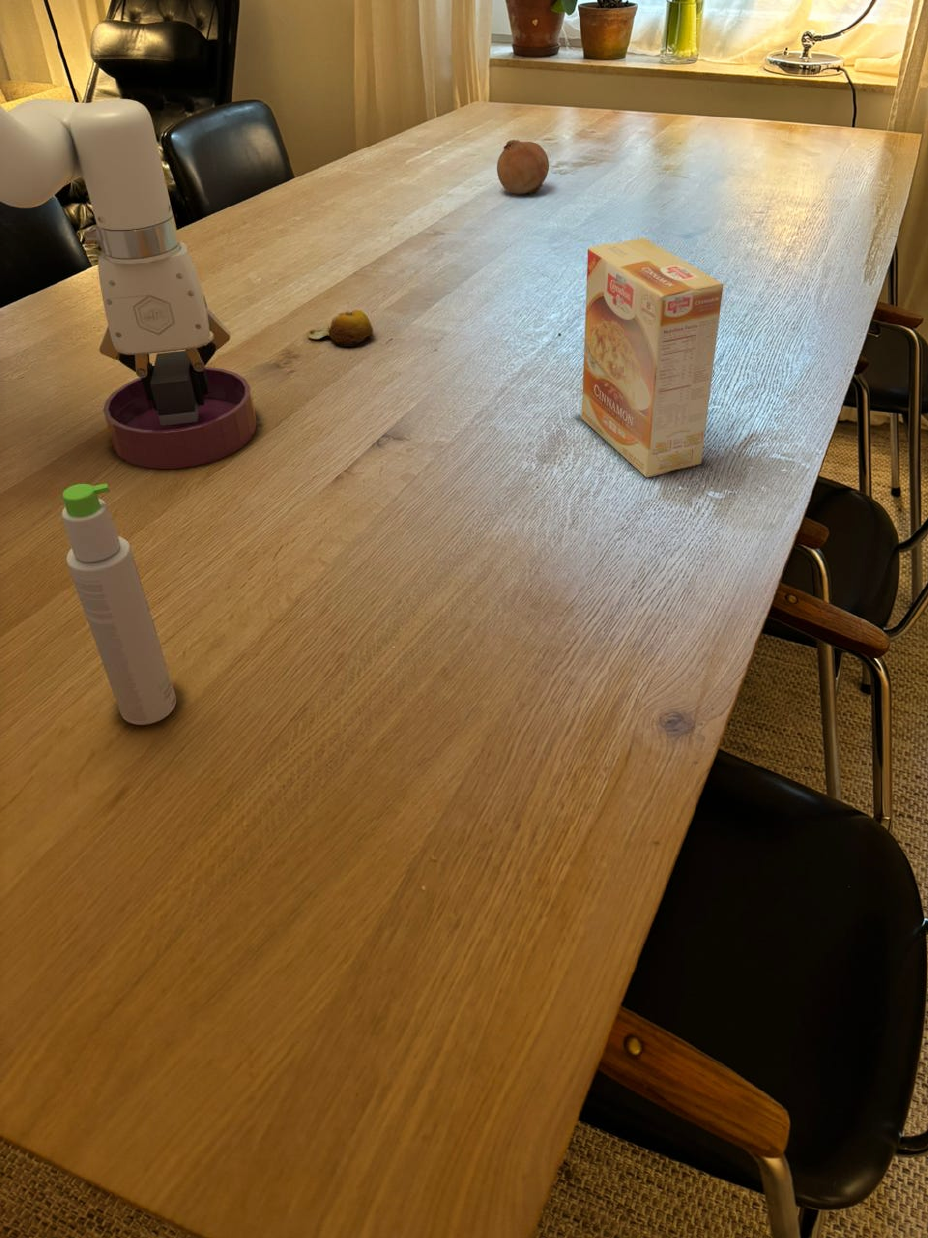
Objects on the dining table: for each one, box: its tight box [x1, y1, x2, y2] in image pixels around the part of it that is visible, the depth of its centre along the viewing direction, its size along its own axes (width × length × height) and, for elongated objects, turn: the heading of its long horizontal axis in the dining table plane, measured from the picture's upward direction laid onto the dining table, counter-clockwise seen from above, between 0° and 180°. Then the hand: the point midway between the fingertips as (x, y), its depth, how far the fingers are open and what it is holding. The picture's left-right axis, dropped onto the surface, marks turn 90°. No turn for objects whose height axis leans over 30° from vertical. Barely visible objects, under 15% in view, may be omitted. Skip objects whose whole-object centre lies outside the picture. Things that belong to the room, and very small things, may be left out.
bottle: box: [61, 482, 177, 726], centre depth 73 cm, size 4×4×20 cm
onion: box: [496, 139, 550, 196], centre depth 180 cm, size 10×9×10 cm
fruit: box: [307, 309, 374, 348], centre depth 133 cm, size 8×8×4 cm
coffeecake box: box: [580, 237, 725, 478], centre depth 103 cm, size 15×7×20 cm, turn 22°
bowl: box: [102, 366, 257, 470], centre depth 113 cm, size 16×16×4 cm
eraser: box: [150, 350, 199, 426], centre depth 111 cm, size 4×8×5 cm, turn 9°
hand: (180, 400), depth 112 cm, fingers closed on eraser, 4 cm apart
